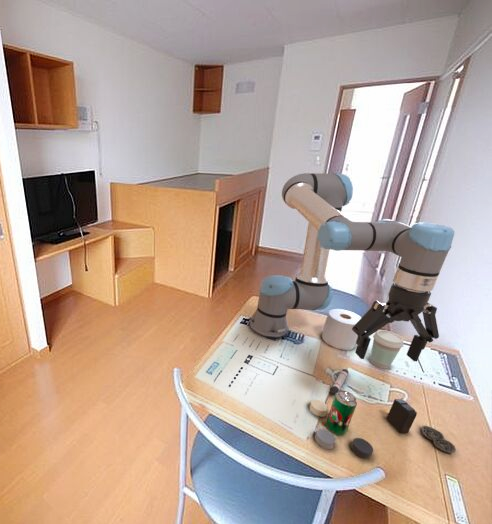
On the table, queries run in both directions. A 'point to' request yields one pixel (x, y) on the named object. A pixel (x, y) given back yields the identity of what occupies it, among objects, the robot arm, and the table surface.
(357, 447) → the charcoal cap
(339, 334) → the toilet paper roll
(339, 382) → the marker
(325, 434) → the grey cap
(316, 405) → the cream cap
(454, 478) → the table surface
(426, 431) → the corroded twin loop
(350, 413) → the soda can
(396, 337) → the coffee cup
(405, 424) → the ink cartridge
